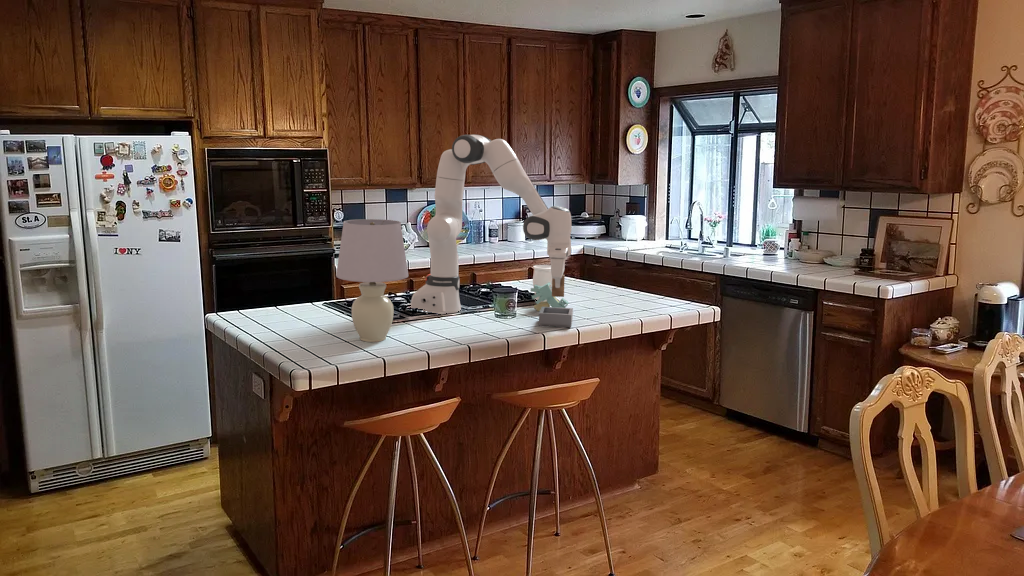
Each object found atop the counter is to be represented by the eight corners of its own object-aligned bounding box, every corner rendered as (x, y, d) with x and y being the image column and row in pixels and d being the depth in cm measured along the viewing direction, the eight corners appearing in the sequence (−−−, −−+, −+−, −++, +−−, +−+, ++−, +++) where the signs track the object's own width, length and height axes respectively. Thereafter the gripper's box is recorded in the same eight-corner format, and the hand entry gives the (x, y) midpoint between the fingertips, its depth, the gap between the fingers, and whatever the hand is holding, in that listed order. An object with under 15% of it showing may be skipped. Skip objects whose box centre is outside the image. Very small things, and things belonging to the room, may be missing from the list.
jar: (533, 297, 345) (534, 263, 343) (556, 298, 344) (558, 265, 341) (530, 302, 335) (532, 267, 332) (554, 303, 334) (556, 268, 331)
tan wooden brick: (551, 296, 294) (552, 275, 292) (552, 295, 296) (552, 274, 295) (563, 296, 293) (564, 275, 292) (564, 295, 296) (564, 274, 294)
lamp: (326, 335, 269) (324, 219, 262) (389, 327, 283) (388, 217, 275) (354, 351, 250) (353, 227, 243) (420, 342, 264) (421, 224, 256)
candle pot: (538, 326, 292) (539, 313, 291) (541, 319, 303) (541, 306, 302) (570, 328, 290) (571, 314, 289) (572, 320, 302) (572, 308, 301)
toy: (571, 311, 315) (555, 279, 311) (541, 323, 318) (524, 292, 314) (571, 301, 324) (556, 270, 320) (542, 313, 328) (527, 283, 323)
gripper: (552, 246, 302) (551, 281, 305) (548, 253, 282) (547, 291, 285) (568, 246, 301) (567, 282, 304) (566, 254, 281) (564, 291, 284)
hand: (558, 286), depth 294 cm, fingers closed on tan wooden brick, 2 cm apart
